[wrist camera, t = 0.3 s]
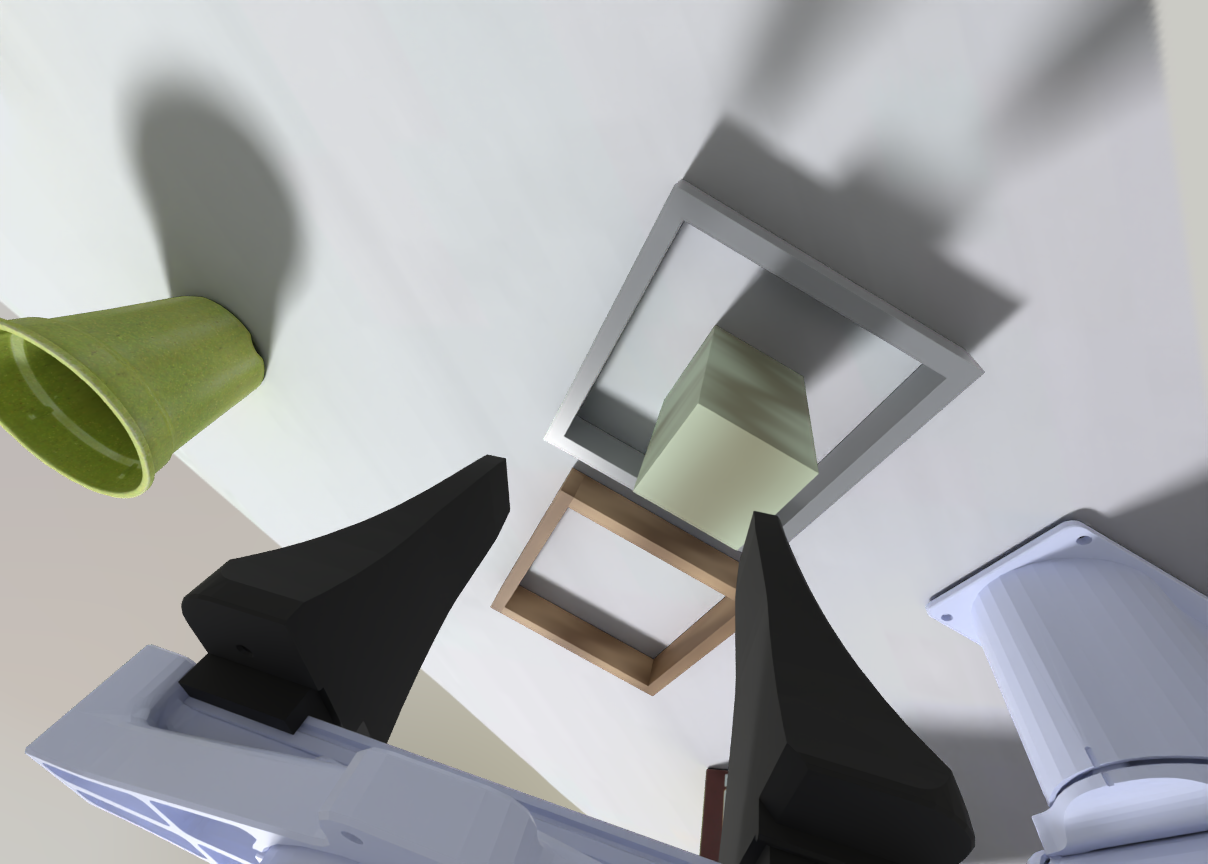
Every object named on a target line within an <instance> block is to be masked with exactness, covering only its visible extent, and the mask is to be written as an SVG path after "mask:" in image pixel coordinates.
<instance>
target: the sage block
mask: <svg viewBox="0 0 1208 864" xmlns="http://www.w3.org/2000/svg"><path fill="white" fill-rule="evenodd" d="M818 474H819V471H818V465H817V459H816V452H815V446H814V440H813V434H812V427H811V421H810V415H809V409H808V402H807V396H806V390H805V384H804V378H803V376H801V375H799V374H798V373H796V372H794V371H793V370H791V369H789V368H788V367H786V366H784V365H783V364H781V363H779V362H777V361H776V360H774V359H772V358H771V357H769V356H767V355H766V354H764V353H762V352H761V351H759V350H757V349H755V348H754V347H752V346H750V345H749V344H747V343H745V342H744V341H742V340H740V339H739V338H737V337H735V336H733V335H732V334H730V333H728V332H727V331H725V330H723V329H722V328H720V327H718V326H717V325H715V326H714V328H713V329H712V331H711V332H710V333H709V335H708V336H707V338H706V339H705V341H704V342H703V344H702V345H701V347H700V348H699V350H698V351H697V353H696V354H695V356H694V357H693V358H692V360H691V361H690V363H689V364H688V366H687V367H686V369H685V370H684V372H683V373H682V375H681V376H680V378H679V379H678V380H677V382H676V383H675V385H674V386H673V388H672V389H671V391H670V392H669V394H668V395H667V397H666V398H665V400H664V402H663V405H662V408H661V410H660V413H659V416H658V419H657V422H656V425H655V428H654V431H653V434H652V437H651V440H650V443H649V445H648V448H647V451H646V454H645V457H644V460H643V463H642V466H641V469H640V472H639V475H638V478H637V480H636V483H635V486H634V489H633V492H634V493H636V494H638V495H640V496H641V497H643V498H645V499H647V500H648V501H650V502H652V503H654V504H655V505H657V506H659V507H661V508H662V509H664V510H666V511H668V512H669V513H671V514H673V515H675V516H676V517H678V518H680V519H682V520H683V521H685V522H687V523H689V524H691V525H692V526H694V527H696V528H698V529H699V530H701V531H703V532H705V533H706V534H708V535H710V536H712V537H713V538H715V539H717V540H719V541H720V542H722V543H724V544H726V545H727V546H729V547H731V548H733V549H734V550H736V551H737V550H738V549H739V548H740V547H741V546H742V545H744V543H745V540H746V536H747V533H748V529H749V525H750V522H751V518H752V515H753V511H758V512H762V513H767V514H772V515H775V514H776V513H778V512H779V511H780V510H781V509H782V508H783V507H784V506H785V505H786V504H787V503H788V502H789V501H790V500H791V499H792V498H793V497H795V496H796V495H797V494H798V493H799V492H800V491H801V490H802V489H803V488H804V487H805V486H806V485H807V484H808V483H809V482H810V481H812V480H813V479H814V478H815V477H816V476H817V475H818Z"/></svg>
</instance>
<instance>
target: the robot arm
mask: <svg viewBox="0 0 1208 864" xmlns="http://www.w3.org/2000/svg"><path fill="white" fill-rule="evenodd" d="M509 512H510V502H509V490H508V478H507V466H506V458H501V457H496V456H492V455H486V456H484V457H482V458H480V459H478V460H477V461H475V462H473V463H472V464H470V465H468V466H467V467H465V468H463V469H462V470H460V471H458V472H457V473H455V474H454V475H452V476H450V477H448V478H447V479H445V480H443V481H442V482H440V483H438V484H437V485H435V486H433V487H431V488H430V489H428V490H426V491H424V492H422V493H420V494H419V495H417V496H415V497H413V498H411V499H409V500H407V501H405V502H404V503H402V504H400V505H398V506H396V507H394V508H392V509H390V510H387V511H385V512H383V513H381V514H379V515H376V516H374V517H372V518H369V519H367V520H365V521H362V522H360V523H357V524H355V525H352V526H349V527H346V528H344V529H341V530H338V531H335V532H333V533H330V534H327V535H324V536H321V537H318V538H315V539H312V540H308V541H305V542H302V543H298V544H295V545H291V546H287V547H284V548H280V549H276V550H272V551H267V552H263V553H259V554H254V555H250V556H245V557H241V558H236V559H231V560H229V561H228V562H226V563H225V564H224V565H223V566H221V567H220V568H219V569H218V570H217V571H215V572H214V573H213V574H212V575H211V576H209V577H208V578H207V579H206V580H205V581H203V582H202V583H201V584H200V585H199V586H197V587H196V588H195V589H193V590H192V591H191V592H190V593H189V594H187V595H186V596H185V597H184V598H183V601H182V606H181V607H182V613H183V616H184V617H185V619H186V621H187V623H188V624H189V626H190V627H191V629H192V630H193V632H194V633H195V635H196V636H197V637H198V639H199V640H200V642H201V643H202V645H203V646H204V648H205V649H206V651H207V652H208V654H207V655H206V656H205V657H204V658H203V659H201V660H200V661H199V662H198V663H197V664H196V663H195V662H194V661H192V660H191V659H189V658H187V657H185V656H183V655H181V654H178V653H175V652H172V651H169V650H167V649H164V648H161V647H158V646H155V645H152V644H151V645H146V646H145V647H144V648H143V649H142V650H140V651H139V652H138V653H137V654H136V655H135V656H133V657H132V658H131V659H130V660H129V661H128V662H126V663H125V664H124V665H123V666H122V667H120V668H119V669H118V670H117V671H116V672H114V674H112V675H111V676H110V677H109V678H107V679H106V680H105V681H104V682H103V683H102V684H101V685H99V686H98V687H97V688H96V689H94V690H93V691H92V692H91V693H90V694H89V695H87V696H86V697H85V698H84V699H83V700H81V701H80V702H79V703H78V704H77V705H76V706H74V707H73V708H72V709H71V710H70V711H69V712H67V713H66V714H65V715H64V716H63V717H62V718H60V719H59V720H58V721H57V722H56V723H54V724H53V725H52V726H51V727H50V728H48V729H47V730H46V731H45V732H44V733H43V734H41V735H40V736H39V737H38V738H37V739H36V740H34V741H33V742H32V743H31V744H30V745H28V746H27V747H26V750H25V754H27V755H28V756H29V757H31V758H32V759H33V760H34V761H36V762H37V763H38V764H39V765H41V766H42V767H43V768H45V769H46V770H47V771H49V772H50V773H51V774H52V775H54V776H55V777H56V778H57V779H59V780H60V781H61V782H62V783H64V784H65V785H66V786H68V787H69V788H70V789H72V790H73V791H74V792H75V793H77V794H78V795H79V796H80V797H82V798H83V799H84V800H85V801H87V802H88V803H90V804H91V805H93V806H96V807H98V808H100V809H102V810H105V811H106V812H109V813H111V814H113V815H115V816H117V817H120V818H122V819H124V820H126V821H128V822H130V823H132V824H134V825H136V826H138V827H140V828H142V829H144V830H146V831H148V832H150V833H152V834H154V835H156V836H158V837H161V838H162V839H164V840H166V841H168V842H170V843H172V844H174V845H176V846H178V847H180V848H182V849H184V850H186V851H188V852H190V853H192V854H194V855H195V856H198V857H199V858H201V859H203V860H205V861H207V862H209V863H211V864H959V863H960V862H961V861H963V860H964V859H965V858H966V857H967V856H968V855H969V854H970V852H971V851H972V850H973V848H974V847H975V835H974V832H973V829H972V825H971V822H970V818H969V815H968V812H967V809H966V806H965V803H964V801H963V798H962V795H961V793H960V791H959V788H958V786H957V783H956V781H955V779H954V776H953V774H952V771H951V770H950V769H949V768H948V767H947V766H946V765H945V764H944V763H943V762H942V761H941V760H940V759H939V757H938V756H937V755H936V754H935V753H934V752H933V751H932V750H931V749H930V748H929V747H928V746H927V745H926V744H925V743H924V742H923V741H922V740H921V739H920V738H919V737H918V736H917V735H916V734H915V733H914V732H913V731H912V730H911V729H910V728H909V727H908V726H907V724H906V723H905V722H904V721H903V720H902V719H901V718H900V717H899V715H898V714H897V713H896V712H895V711H894V710H893V709H892V707H891V706H890V705H889V704H888V703H887V702H886V701H885V699H884V698H883V697H882V696H881V694H880V693H879V692H878V691H877V689H876V688H875V687H874V686H873V684H872V683H871V682H870V680H869V679H868V678H867V677H866V675H865V674H864V673H863V672H862V670H861V669H860V668H859V667H858V665H857V664H856V662H855V661H854V660H853V658H852V657H851V655H850V654H849V652H848V651H847V650H846V648H845V647H844V645H843V644H842V642H841V641H840V639H839V638H838V636H837V635H836V633H835V632H834V630H833V629H832V627H831V625H830V624H829V622H828V621H827V619H826V617H825V615H824V614H823V612H822V610H821V609H820V607H819V605H818V603H817V601H816V600H815V598H814V596H813V594H812V592H811V590H810V588H809V586H808V585H807V582H806V580H805V578H804V576H803V574H802V572H801V570H800V568H799V566H798V564H797V561H796V559H795V557H794V555H793V552H792V550H791V548H790V545H789V543H788V540H787V538H786V535H785V532H784V529H783V526H782V523H781V520H780V519H779V517H778V516H777V515H772V514H767V513H762V512H758V511H753V515H752V518H751V522H750V525H749V529H748V533H747V536H746V540H745V543H744V547H743V550H742V554H741V557H740V561H739V566H738V575H737V584H736V594H735V647H736V687H735V703H734V714H733V726H732V737H731V747H730V758H729V768H728V778H727V788H726V797H725V807H724V816H723V825H722V834H721V842H720V851H719V860H718V862H715V861H713V860H710V859H707V858H704V857H702V856H699V855H696V854H693V853H690V852H688V851H685V850H682V849H679V848H676V847H674V846H671V845H668V844H665V843H662V842H660V841H657V840H654V839H651V838H648V837H646V836H643V835H640V834H637V833H635V832H632V831H629V830H626V829H623V828H621V827H618V826H615V825H612V824H609V823H607V822H604V821H601V820H598V819H595V818H593V817H590V816H587V815H584V814H581V813H579V812H576V811H573V810H570V809H568V808H565V807H562V806H559V805H556V804H553V803H551V802H548V801H545V800H542V799H540V798H537V797H534V796H531V795H528V794H526V793H523V792H520V791H517V790H514V789H511V788H509V787H506V786H503V785H501V784H498V783H495V782H492V781H489V780H487V779H484V778H481V777H478V776H475V775H473V774H469V773H467V772H464V771H461V770H458V769H456V768H453V767H450V766H447V765H445V764H442V763H439V762H436V761H433V760H431V759H428V758H425V757H422V756H419V755H417V754H414V753H411V752H408V751H406V750H403V749H400V748H397V747H394V746H391V745H389V744H387V742H388V740H389V737H390V735H391V732H392V730H393V728H394V725H395V723H396V720H397V718H398V716H399V713H400V711H401V709H402V706H403V704H404V702H405V700H406V698H407V696H408V694H409V691H410V689H411V687H412V685H413V683H414V680H415V678H416V676H417V674H418V672H419V670H420V668H421V666H422V664H423V662H424V660H425V658H426V656H427V654H428V652H429V649H430V647H431V645H432V643H433V641H434V639H435V637H436V636H437V634H438V632H439V630H440V628H441V626H442V624H443V622H444V620H445V618H446V617H447V615H448V613H449V611H450V609H451V608H452V606H453V604H454V603H455V601H456V599H457V598H458V596H459V595H460V593H461V592H462V590H463V589H464V587H465V586H466V584H467V583H468V581H469V580H470V578H471V577H472V575H473V574H474V572H475V571H476V569H477V568H478V566H479V565H480V563H481V562H482V560H483V559H484V557H485V556H486V554H487V553H488V551H489V550H490V548H491V546H492V545H493V543H494V542H495V540H496V539H497V537H498V535H499V533H500V531H501V529H502V527H503V524H504V522H505V520H506V518H507V516H508V514H509ZM1082 536H1085V537H1083V538H1079V537H1082ZM926 610H927V613H928V615H929V616H930V617H932V618H934V619H935V620H937V621H939V622H941V623H942V624H944V625H946V626H948V627H949V628H951V629H953V630H955V631H956V632H958V633H960V634H961V635H963V636H965V637H967V638H968V639H970V640H972V641H974V642H975V643H977V644H979V645H981V646H982V648H983V650H984V652H985V655H986V657H987V660H988V662H989V664H990V667H991V669H992V672H993V674H994V676H995V679H996V681H997V684H998V686H999V688H1000V691H1001V693H1002V696H1003V698H1004V700H1005V703H1006V705H1007V708H1008V710H1009V712H1010V715H1011V717H1012V720H1013V722H1014V724H1015V727H1016V729H1017V732H1018V734H1019V736H1020V739H1021V741H1022V744H1023V746H1024V748H1025V751H1026V753H1027V756H1028V758H1029V761H1030V763H1031V765H1032V768H1033V770H1034V773H1035V775H1036V777H1037V780H1038V782H1039V785H1040V787H1041V789H1042V792H1043V794H1044V797H1045V799H1046V801H1047V804H1048V806H1049V809H1048V810H1046V811H1044V812H1042V813H1039V814H1036V815H1033V816H1032V820H1033V822H1034V825H1035V827H1036V830H1037V832H1038V835H1039V838H1040V840H1041V843H1042V845H1043V848H1044V850H1041V851H1038V852H1035V853H1034V854H1033V855H1032V856H1031V857H1030V858H1029V859H1028V861H1027V864H1208V597H1207V596H1205V595H1203V594H1202V593H1200V592H1198V591H1197V590H1195V589H1193V588H1192V587H1190V586H1188V585H1187V584H1185V583H1183V582H1182V581H1180V580H1178V579H1176V578H1175V577H1173V576H1171V575H1170V574H1168V573H1166V572H1165V571H1163V570H1161V569H1160V568H1158V567H1156V566H1155V565H1153V564H1151V563H1149V562H1148V561H1146V560H1144V559H1143V558H1141V557H1139V556H1138V555H1136V554H1134V553H1133V552H1131V551H1129V550H1128V549H1126V548H1124V547H1122V546H1121V545H1119V544H1117V543H1116V542H1114V541H1112V540H1111V539H1109V538H1107V537H1106V536H1104V535H1102V534H1101V533H1099V532H1097V531H1095V530H1094V529H1092V528H1090V527H1089V526H1087V525H1085V524H1084V523H1082V522H1079V521H1074V520H1071V521H1065V522H1063V523H1061V524H1059V525H1057V526H1056V527H1054V528H1052V529H1051V530H1049V531H1047V532H1046V533H1044V534H1042V535H1041V536H1039V537H1037V538H1036V539H1034V540H1032V541H1031V542H1029V543H1027V544H1026V545H1024V546H1022V547H1021V548H1019V549H1017V550H1016V551H1014V552H1012V553H1011V554H1009V555H1007V556H1006V557H1004V558H1002V559H1001V560H999V561H997V562H996V563H994V564H992V565H991V566H989V567H987V568H986V569H984V570H982V571H981V572H979V573H977V574H976V575H974V576H972V577H971V578H969V579H967V580H966V581H964V582H962V583H961V584H959V585H957V586H956V587H954V588H952V589H951V590H949V591H947V592H946V593H944V594H942V595H941V596H939V597H937V598H936V599H934V600H932V601H931V602H929V603H928V604H927V605H926ZM944 614H947V615H944Z"/></svg>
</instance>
